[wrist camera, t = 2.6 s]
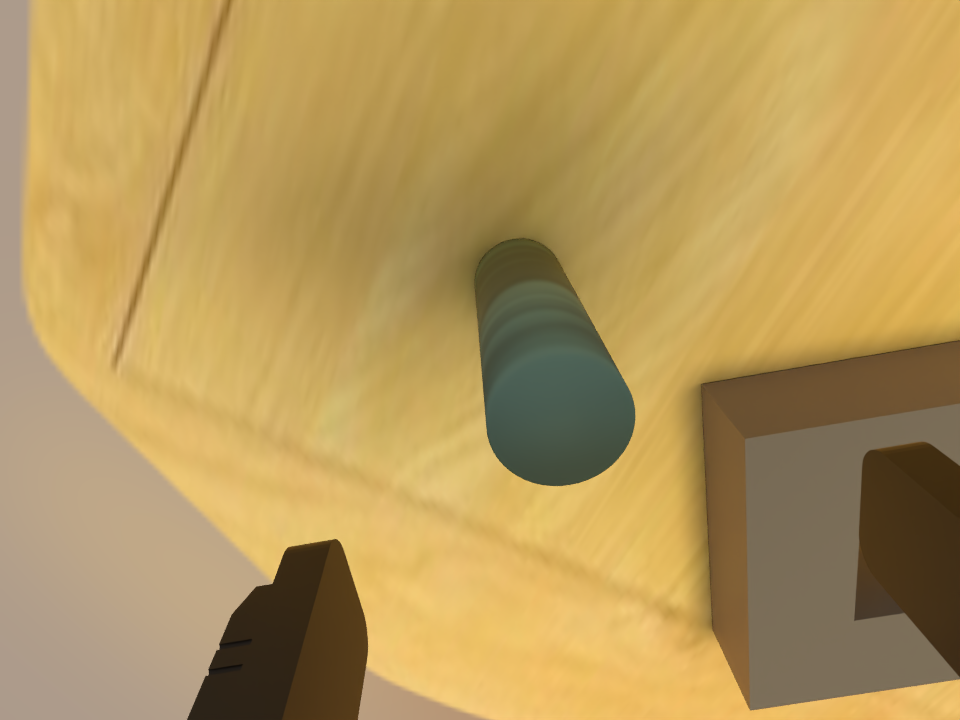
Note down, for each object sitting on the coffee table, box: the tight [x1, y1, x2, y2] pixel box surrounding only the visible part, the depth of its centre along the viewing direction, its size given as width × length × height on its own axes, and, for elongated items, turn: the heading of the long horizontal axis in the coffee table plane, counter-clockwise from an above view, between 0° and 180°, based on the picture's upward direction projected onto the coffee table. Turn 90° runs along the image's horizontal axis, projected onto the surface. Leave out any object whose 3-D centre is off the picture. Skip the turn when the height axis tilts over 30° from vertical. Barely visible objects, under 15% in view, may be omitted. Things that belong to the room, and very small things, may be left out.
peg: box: [475, 239, 635, 486], centre depth 18 cm, size 3×3×10 cm
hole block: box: [701, 341, 960, 710], centre depth 25 cm, size 12×12×4 cm
